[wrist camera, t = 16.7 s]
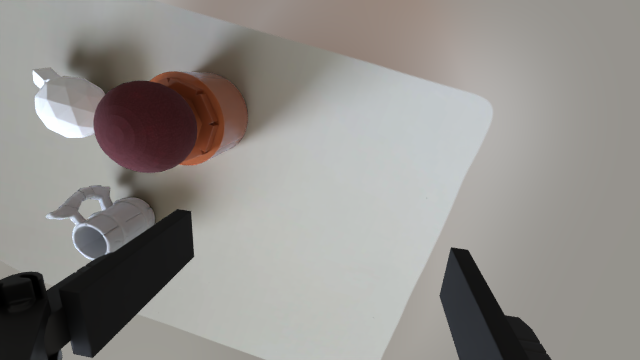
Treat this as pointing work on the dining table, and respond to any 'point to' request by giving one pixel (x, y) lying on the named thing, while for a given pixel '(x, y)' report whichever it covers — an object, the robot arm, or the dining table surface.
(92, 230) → the mug
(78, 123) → the perfume bottle
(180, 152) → the decorative ball
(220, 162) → the dining table surface
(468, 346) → the robot arm
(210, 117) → the pedestal
